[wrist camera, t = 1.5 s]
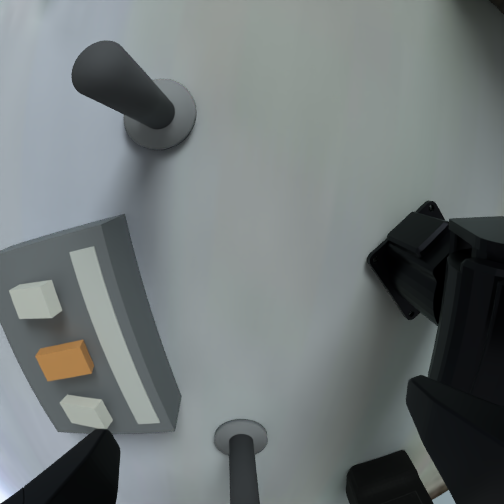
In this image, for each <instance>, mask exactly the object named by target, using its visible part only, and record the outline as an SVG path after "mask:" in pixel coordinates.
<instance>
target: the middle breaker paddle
mask: <svg viewBox="0 0 504 504" xmlns="http://www.w3.org/2000/svg"><path fill="white" fill-rule="evenodd" d="M35 357H36V359H37V361H38V363H39V365H40V367H41V369H42V371H43V373H44V375H45V377H46V379H47V381H53V380H59V379H65V378H71V377H76V376H81V375H87V374H92V371H93V368H94V363H93V361H92V359H91V357H90V354H89V352H88V350H87V347H86V345H85V342H84V340H78V341H74V342H69V343H64V344H60V345H55V346H50V347H45V348H40V349H39V351H38V353H37V354H36V356H35Z"/></svg>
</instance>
